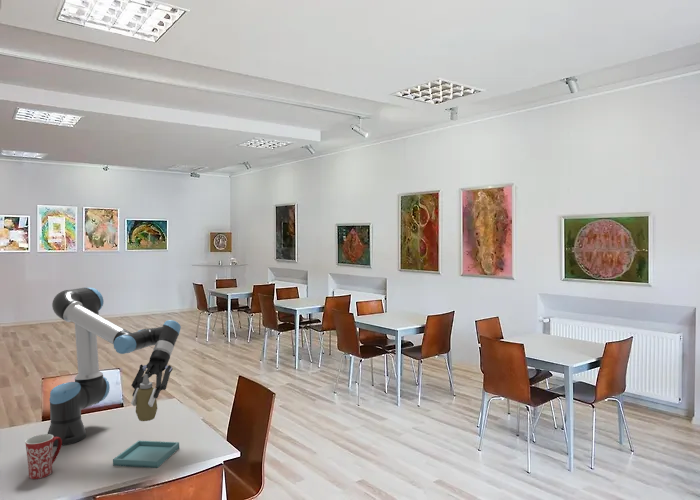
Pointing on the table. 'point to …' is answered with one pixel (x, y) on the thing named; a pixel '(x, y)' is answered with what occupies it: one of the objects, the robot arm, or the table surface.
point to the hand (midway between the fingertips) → (141, 404)
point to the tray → (146, 454)
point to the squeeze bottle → (145, 401)
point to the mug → (41, 455)
